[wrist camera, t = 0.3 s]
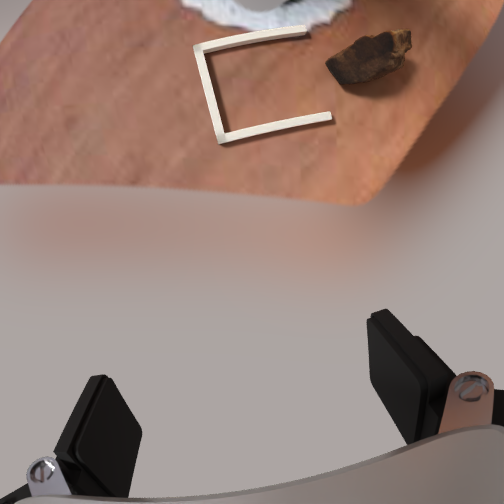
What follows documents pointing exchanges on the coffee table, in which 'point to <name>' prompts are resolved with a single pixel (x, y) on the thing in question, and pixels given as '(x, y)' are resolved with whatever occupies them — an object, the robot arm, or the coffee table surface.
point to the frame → (221, 136)
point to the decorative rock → (370, 57)
